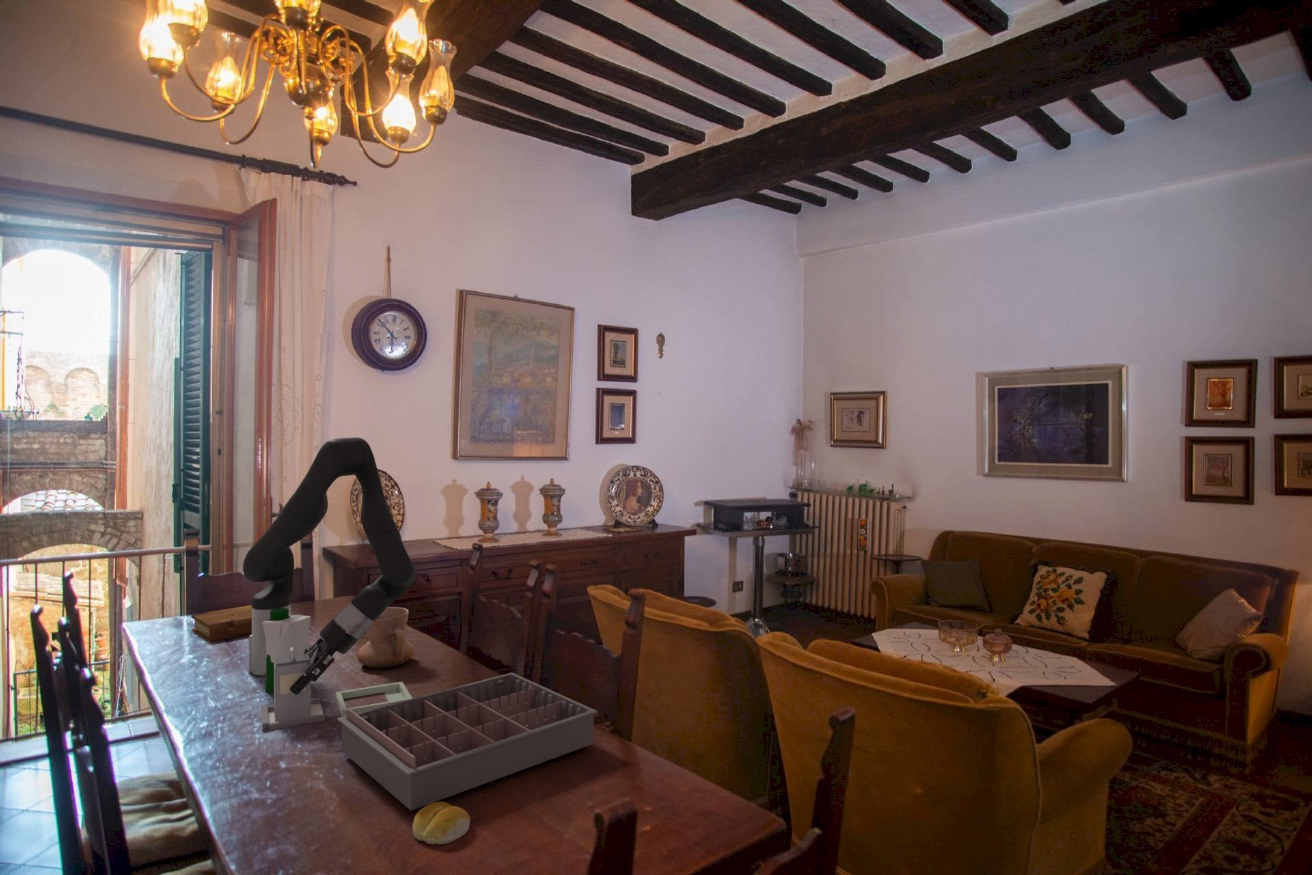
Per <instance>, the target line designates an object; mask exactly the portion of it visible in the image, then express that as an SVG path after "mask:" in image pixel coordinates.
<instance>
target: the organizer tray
mask: <svg viewBox="0 0 1312 875" xmlns="http://www.w3.org/2000/svg"><path fill="white" fill-rule="evenodd" d="M412 698H413V697H412ZM346 708H347V716H343V717H342V716H340V717H338V718H336V720H337V721H338V722H339V723H340V724H341V747H342V748H341V751H342V753H344V754H345V755H346V756H347V757H348V758H350V759H351V760H352V761H353V762H354V763H355V765H358V767H360V768H361V769H362V770H363V771H364V772H365V773H367V774H368V775H369V776H370V777H371V778H372V779H374V780H375V781H376V782H377V783H378V784H379V785H381V786H382V787H383V788H384V789H385V790H386V791H388V792H389V793H390V794H391V795H392V796H393V797H394V798H396V799H397V800H398V801H399V802H400V803H401V804H402V805H403V806H404V807H406V808H407V809H408V810H409V811H414V810H417V809H419V808H423V807H425V806H427V805H429V804H432V803H434V802H440V801H441V800H444V799H446V798H449V797H452V796H455V795H458V794H460V793H463V792H465V791H468V790H471V789H474V788H476V787H480V786H482V785H484V784H488V783H489V782H491V784H492V786H493V784H494V783H493V782H494V781H496V780H499V779H500V778H504V777H507V776H509V775H512V774H515V773H517V772H519V771H520V772H521V771H522V770H526V769H528V768H531V767H534V766H537V765H539V764H542V763H545V762H547V761H549V760H553V759H556V758H558V757H561V756H564V755H566V754H569V753H572V752H575V751H578V750H580V749H582V748H585V747H588V746H590V745H591V746H592V745H593V744H594V715H595V714H598V713H599V711H598V710H597V709H594V708H592V707H589V706H587V705H585V704H583V703H581V702H578V701H576V700H573V699H572V698H569V697H567V696H565V695H563V694H560V693H558V692H556V691H553V690H552V689H549V688H547V687H545V686H542V685H540V684H539V683H536V682H534V681H531V680H529V679H527V678H525V677H524V676H521V675H518V674H516V673H515V672H509V673H506V674H502V675H497V676H493V677H491V678H490V677H489V678H486V679H482V680H479V681H474V682H471V683H467V684H463V685H459V686H456V687H451V688H448V689H444V690H441V691H436V692H432V693H428V694H425V695H421V696H420V695H419V696H417V697H414V698H413V699H409V700H405V701H401V702H397V703H393V704H390V705H386V706H382V707H378V708H374V709H370V710H367V711H363V712H359V713H355V712H353V711H352V710H351V709H349V708H350V707H346Z"/></svg>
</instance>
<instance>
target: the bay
mask: <svg viewBox="0 0 1312 875" xmlns="http://www.w3.org/2000/svg"><path fill="white" fill-rule="evenodd" d="M321 705H322V704H321V698H320V697H314V698H311V716H308V717H303V718H297V719H291V720H285V721H279V722H275V717H274V704H273V705H268V703H264V704H260V712H261V713H260V714H261V715H260V716H261V729H262V732H265V731H271V730H276V729H282V728H289V727H293V726H298V725H303V724H310V723H315V722H322V721H325V720H326V717H325V716H326V715H325V713H324V712H323V710H322V706H321Z"/></svg>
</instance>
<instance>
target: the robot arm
mask: <svg viewBox="0 0 1312 875" xmlns="http://www.w3.org/2000/svg"><path fill="white" fill-rule="evenodd" d="M347 476H355V477H356V479H357V481H358V483H359V485H360V488H361V492H362V495H361V496H362V500H361V501H362V502H361V510H360V523H361V525H362V526H361V527H362V529H363V531H364V534H365V536H366V538H367V540H368V543H369V544H370V547H371V548H372V550H373V552H374V555H375V559H376V561H377V565H378V568H379V572H380V573H381V575H379V577H378V578H377V579H376V580H375V581H374V582H372V583H371V584H369V585H366V586H365V587H363V588H362V589H361V591H359V593H358V594H356V596H354V597H353V599H351V600H350V601H349V603H347V604H346V605H345V606H344V607H343V608H341V610H339V612H338V613H336V615H335V616H334V617H333V618H332V619H330V621H329V622H328V623H327V624H325V626H324V627H323V628H322V629H321V630H320V632H319V635H320V637H319V638H318V639H317V640H316V642H315V643H314V644H313V645H311V646H310V648H308V651H307V652H306V653H305V654H308V656H309V659H310V660H309V662H308V663H307V669H306V670H305V672H304V673H303V675H301V676H300V677H299V678H298V680H297V681H296V682H295V683H294V684H293V685H292V686H291V687H290V691H291V692H292V693H294V694H295V695H298V694H299V693H300V692H301V691H302V690H303V689H304V688H305V687H306V686H307V685H308V683H309V682H310V681H311V683H312V682H313V683H315V682H317V680H318V679H319V678H320V677H321V676H322V675H323V674H324V673H325V671H327V669H329V667H330V666H331V665H332V664H333V663H334V662H335V660H336V658H334V657H333V656H334V654H336V652H338V653H340V654H342V655H345V654H347V652H349V650H351V648H352V647H353V646H354V645H355V644H357V642H358V641H359V640H360V639H361V638H362V636H364V635H365V634H366V631H367V630H368V629H369V627H370V626H371V625H372V623H373V621H375V620H376V619H377V618H378V617H379V616H380V615H381V614H382V612H383V611H384V610H385V609H386V608H387V607H390V604H392V603H394V601H396V600H397V599H398V598H399V597H401V596H402V595H403V594H404V593H405V592H407V590H408V589H410V587H411V586H412V585H413V584H414V582H416V579H417V577H418V568H417V566H416V564H415V563H414V562H413V561H412V560H411V558H410V556H409V554H408V552H407V550H406V548H405V546H404V544H403V542H402V536H401V533H400V530H399V529H398V526H397V524H396V522H395V519H394V518H393V516H392V513H391V511H390V509H389V508H390V507H389V506H388V502H387V499H386V497H385V493H384V489H383V485H382V481H381V478H380V477H381V476H380V474H379V470H378V467H377V463H376V459H375V456H374V453H373V451H372V448H371V445H370V444H369V443H368V442H367V441H366V439H364V438H361V437H342V438H340V437H339V438H338V437H337V438H331V439H329V440H327V441H325V442H324V443H323V445H322V446H321V447H320V448H319V451H318V452H317V454H316V456H315V458H313V462H312V463H311V465H310V468H309V469H308V471H307V472H306V474H305V476H304V478H303V479H302V481H301V482H300V484H299V485H298V487H297V488H296V489H295V491H294V493H292V494H291V497H289V499H288V500H287V502H286V503H285V505H284V506H283V508H282V509H281V510H280V513H279V514H278V515H277V517H276V518H274V519H275V520H274V521H273V522H272V523H271V525H270V526H269V527H268V529H266V531H265V532H264V533H263V535H262V536H261V537H260V538H259V539H258V540H257V541H256V542H255V543H254V544H253V545H252V547H250V548H249V550H248V551H247V553H246V555H245V556H244V558H243V562H242V564H243V565H242V572H243V575H244V577H245V578H246V579H247V580H248V581H250V582H252V583H265V582H268V583H267V585H266V586H265V587H264V588H263V589H262V590H261V591H259V592H257V593H256V594H253V596H252V597H251V605H252V635H248V672H249V673H252V674H253V675H254V676H266V637H265V632H264V628H263V624H262V622H264V621H266V620H268V619H270V611H271V610H273V609H277V608H288V609H289V615H292V614H291V613H292V609H291V608H292V606H291V600H292V596H293V593H294V576H295V557H294V554H293V553H294V552H293V551H292V549H291V547H292V546H293V545H294V544H296V543H298V542H300V541H301V540H302V539H304V538H306V537H307V536H309V535H310V534H311V533H313V531H315V529H316V528H317V526H319V525H320V523H321V522H322V520H323V519H324V517H325V516H326V514H327V512H328V508H329V502H328V501H329V499H328V496H327V492H328V490H329V489H330V487H331V486H332V484H334V482H335V481H336V480H337V479H338V478H340V477H347Z"/></svg>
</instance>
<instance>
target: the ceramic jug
mask: <svg viewBox="0 0 1312 875" xmlns="http://www.w3.org/2000/svg"><path fill="white" fill-rule="evenodd" d="M408 619H409V609H407V608H405V607H399V606H397V607H395V606H388V607H387V608H386V609H385V610H384V611H383V612H382V614H381V615H380V616H379V617H378V618H377V619H376V620H375V621H373V623H372V625H371V626H370V627H369V629H368V630H367V631H366V632H365V634H366V635H367V637H368V641H367V642H366V643H364V644H363V645H362V646H361V647H360V648H359V649H358V651H357V654H356V657H357V660H358V662H359V663H360V664H361V665H363V666H365V667H367V668H373V669H385V668H387V669H388V668H392V667H396V666H399V665H402V664H404V663H406V662H407V661H409V660H410V659H412V656H413V654H414V647H413V644H412V643H411V642H410V641H408V640H406V634H405V633H406V632H405V629H406V628H407V623H408Z"/></svg>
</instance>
